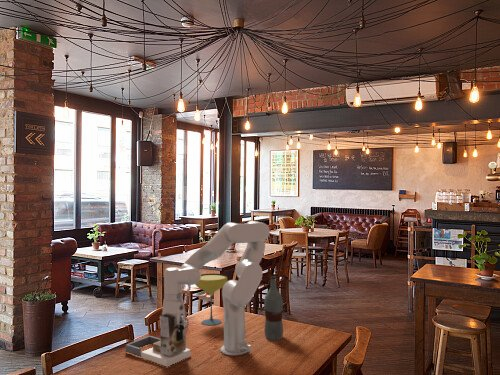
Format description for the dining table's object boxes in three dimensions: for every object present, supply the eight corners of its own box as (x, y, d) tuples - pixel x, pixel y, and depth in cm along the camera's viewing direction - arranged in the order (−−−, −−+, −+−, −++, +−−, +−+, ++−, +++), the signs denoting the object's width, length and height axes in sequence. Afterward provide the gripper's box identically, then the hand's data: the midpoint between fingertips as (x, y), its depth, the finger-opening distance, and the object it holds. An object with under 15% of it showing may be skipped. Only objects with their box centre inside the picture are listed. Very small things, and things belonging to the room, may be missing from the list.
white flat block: (190, 356, 185) (190, 349, 185) (167, 367, 174) (166, 360, 174) (165, 348, 195) (164, 342, 195) (141, 358, 183) (140, 351, 183)
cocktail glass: (234, 320, 235) (233, 275, 235) (215, 329, 220) (214, 281, 220) (207, 315, 245) (207, 272, 245) (188, 324, 229) (187, 278, 229)
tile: (172, 349, 186) (172, 342, 186) (162, 353, 181) (162, 346, 181) (163, 346, 190) (162, 339, 190) (152, 350, 185) (152, 343, 185)
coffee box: (170, 356, 176) (169, 318, 176) (160, 353, 180) (159, 315, 180) (186, 349, 183) (186, 312, 183) (176, 346, 187) (176, 310, 187)
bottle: (262, 340, 204) (262, 278, 204) (266, 333, 213) (265, 274, 213) (281, 341, 202) (281, 278, 202) (284, 335, 211) (284, 275, 211)
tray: (164, 348, 195) (164, 339, 195) (140, 358, 183) (140, 349, 183) (149, 344, 201) (149, 335, 201) (125, 353, 189) (125, 344, 189)
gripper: (194, 297, 180) (194, 339, 180) (165, 292, 190) (165, 332, 190) (181, 301, 174) (182, 345, 174) (152, 295, 183) (152, 337, 183)
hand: (173, 338), depth 182 cm, fingers closed on coffee box, 6 cm apart
